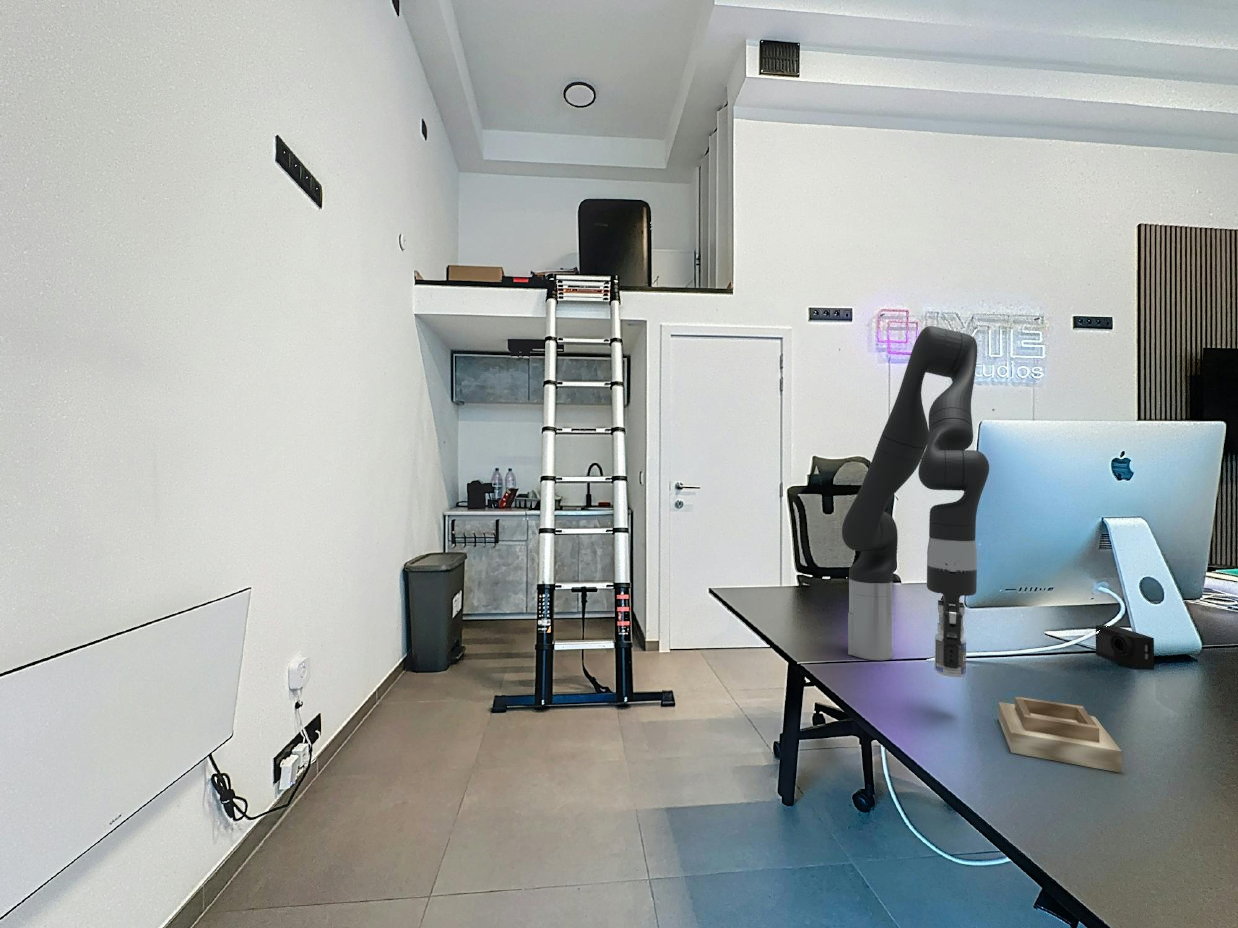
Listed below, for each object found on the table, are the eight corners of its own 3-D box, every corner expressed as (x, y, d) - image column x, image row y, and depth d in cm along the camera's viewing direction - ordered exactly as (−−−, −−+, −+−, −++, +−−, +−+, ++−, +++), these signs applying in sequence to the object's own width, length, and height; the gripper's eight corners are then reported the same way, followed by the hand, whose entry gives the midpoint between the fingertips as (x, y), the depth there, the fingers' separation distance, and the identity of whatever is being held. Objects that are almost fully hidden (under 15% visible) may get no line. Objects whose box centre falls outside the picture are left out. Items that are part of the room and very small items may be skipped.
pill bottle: (970, 679, 98) (970, 629, 98) (939, 676, 99) (940, 627, 99) (960, 669, 103) (960, 622, 103) (931, 667, 104) (931, 620, 104)
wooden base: (1011, 752, 87) (1011, 719, 87) (998, 719, 99) (998, 690, 99) (1121, 772, 81) (1121, 736, 81) (1094, 735, 93) (1094, 703, 93)
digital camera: (1089, 654, 135) (1089, 624, 135) (1113, 654, 135) (1113, 624, 135) (1128, 669, 125) (1128, 637, 125) (1154, 669, 124) (1153, 637, 125)
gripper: (926, 557, 109) (925, 647, 109) (927, 569, 96) (925, 671, 96) (973, 560, 105) (971, 654, 105) (980, 573, 93) (979, 679, 93)
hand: (950, 661), depth 101 cm, fingers closed on pill bottle, 4 cm apart
